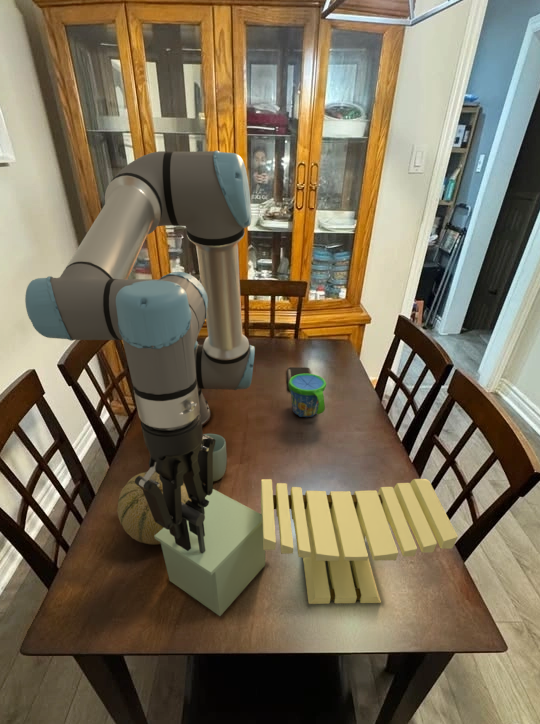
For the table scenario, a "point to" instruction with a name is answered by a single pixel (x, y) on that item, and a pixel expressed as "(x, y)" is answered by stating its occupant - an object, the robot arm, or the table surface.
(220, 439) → the cup
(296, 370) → the phone
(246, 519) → the pale green box lid
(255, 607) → the table surface
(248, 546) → the green box
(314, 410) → the snack cup
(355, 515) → the slatted curved stool
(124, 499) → the cantaloupe
